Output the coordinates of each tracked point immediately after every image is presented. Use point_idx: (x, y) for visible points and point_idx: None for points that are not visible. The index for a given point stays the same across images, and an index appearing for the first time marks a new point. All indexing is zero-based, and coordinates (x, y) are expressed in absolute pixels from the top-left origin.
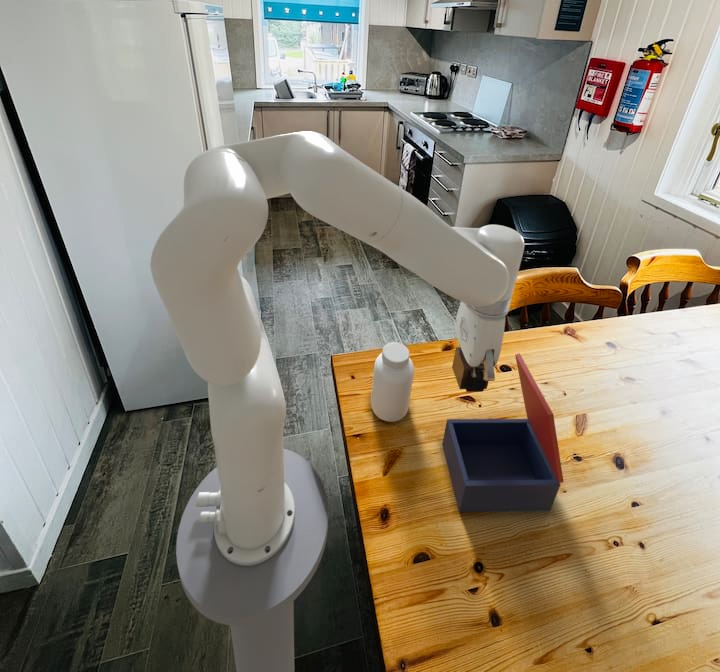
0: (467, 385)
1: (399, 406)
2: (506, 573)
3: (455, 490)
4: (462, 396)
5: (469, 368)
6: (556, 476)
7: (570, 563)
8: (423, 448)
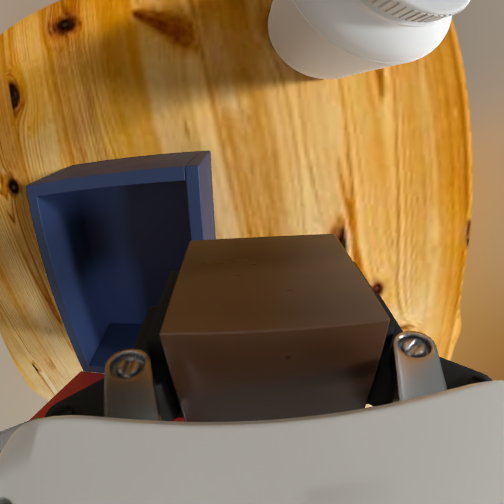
0: (163, 290)
1: (274, 28)
2: (16, 227)
3: (94, 163)
4: (345, 235)
5: (169, 364)
6: (82, 375)
7: (51, 317)
8: (197, 101)
